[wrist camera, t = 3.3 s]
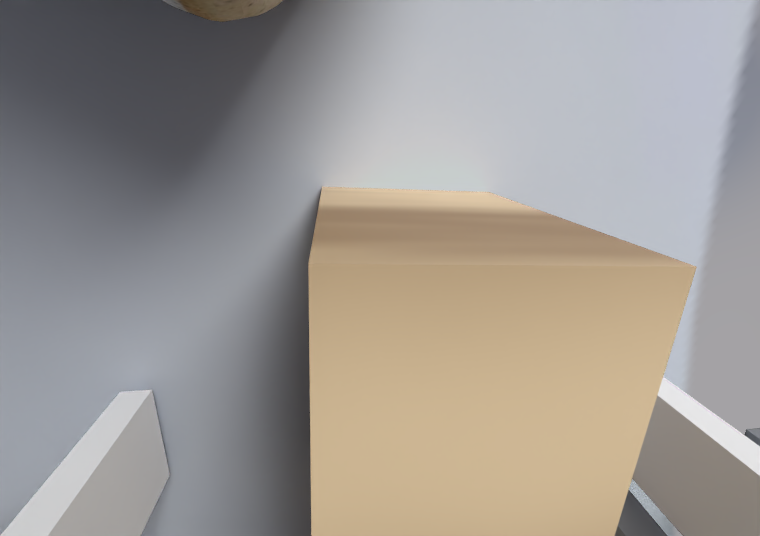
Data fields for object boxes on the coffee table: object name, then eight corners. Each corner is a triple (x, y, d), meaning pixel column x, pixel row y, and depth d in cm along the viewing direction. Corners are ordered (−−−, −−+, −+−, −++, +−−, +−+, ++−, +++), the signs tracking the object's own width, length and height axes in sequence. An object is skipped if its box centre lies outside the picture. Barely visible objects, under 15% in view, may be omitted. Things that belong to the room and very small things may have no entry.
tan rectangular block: (322, 185, 9) (308, 263, 4) (486, 191, 10) (696, 267, 4) (321, 558, 13) (315, 882, 7) (441, 548, 14) (520, 844, 8)
